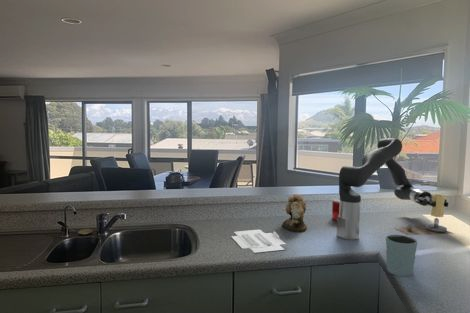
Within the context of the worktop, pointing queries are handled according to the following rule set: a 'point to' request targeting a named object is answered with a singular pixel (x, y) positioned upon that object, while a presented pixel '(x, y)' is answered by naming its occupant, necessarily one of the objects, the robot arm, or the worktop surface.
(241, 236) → the white paper stack
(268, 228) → the worktop surface
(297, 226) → the brown bust statue
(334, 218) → the canned food
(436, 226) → the disc
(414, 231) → the walnut board
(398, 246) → the pale green pot
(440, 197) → the brass sleeve
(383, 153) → the robot arm
